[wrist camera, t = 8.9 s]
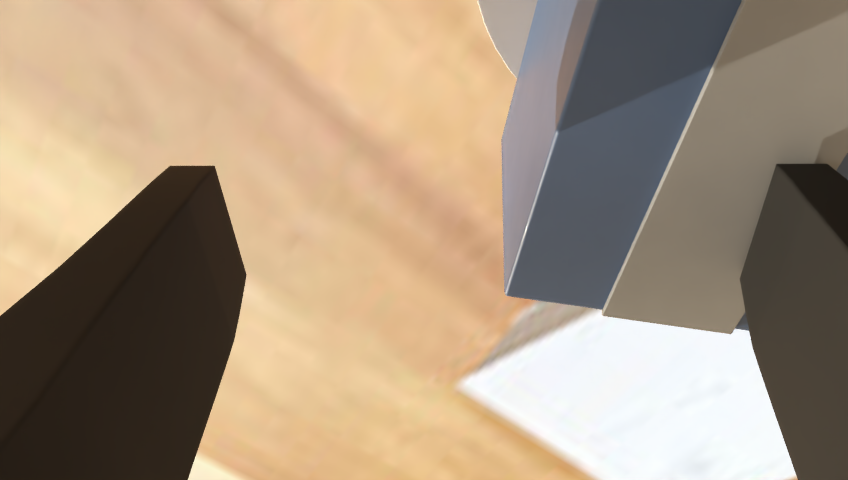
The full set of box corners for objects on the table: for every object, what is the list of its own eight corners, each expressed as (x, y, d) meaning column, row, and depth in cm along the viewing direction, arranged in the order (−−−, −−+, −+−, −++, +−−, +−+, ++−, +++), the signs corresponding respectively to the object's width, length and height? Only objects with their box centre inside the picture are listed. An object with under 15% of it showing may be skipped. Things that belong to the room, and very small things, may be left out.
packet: (758, 179, 15) (826, 347, 12) (500, 140, 15) (503, 302, 12) (1069, -372, 9) (1347, -315, 6) (653, -453, 9) (738, -435, 6)
